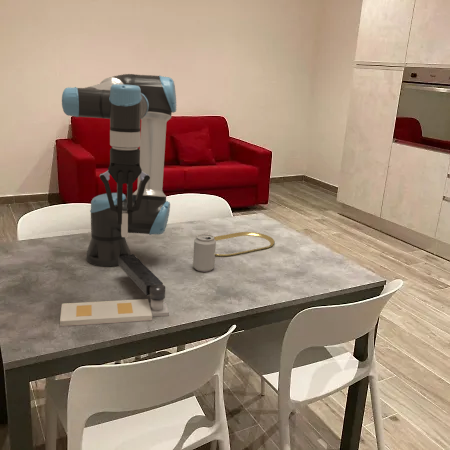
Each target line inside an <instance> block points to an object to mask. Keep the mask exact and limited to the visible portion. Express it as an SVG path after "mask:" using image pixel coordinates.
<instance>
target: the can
mask: <svg viewBox="0 0 450 450" xmlns="http://www.w3.org/2000/svg"><path fill="white" fill-rule="evenodd" d="M214 237H215V236H214V235H212V234H210V233H209V234H208V233H200V234H197V235H196V237H195V239H194V241H193V257H192V258H193V259H192V260H193V261H192V267H193V269H195V270H196V271H198V272H203V273H204V272H205V273H206V272H208V273H209V272H211V271H212V270H214V269H215V261H216V260H215V259H216V256H215V254H216V245H217V241H215V239H214Z"/></svg>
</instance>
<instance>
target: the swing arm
mask: <svg viewBox="0 0 450 450" xmlns="http://www.w3.org/2000/svg"><path fill="white" fill-rule="evenodd" d="M117 266H119V267H120V269H122V270H123V272H124V273H125V274H126V275H127V276H128V277H129V278H130V279H131V280H132V281H133V283H134V284H135V285H136V287H138V288H139V289H140V290H141V292H143V294H144V295H145V296H146V297H147V296H149V299H150V300H151V299H152V300H163V299H165V298H166V286H165V285H164V283H163V282H162V280H160V279H159V278H158V277H157V276H156V274H155V273H153V271H151V270H150V269H149V268H148V267H147V266H146V265H145V264H144V263H143V262H142V261H141V260H140V259H139V258H138V257H137V256H136V255H135V254H133V253H132V254H131V253H130V255H123V256H118V265H117Z"/></svg>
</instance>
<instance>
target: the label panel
mask: <svg viewBox="0 0 450 450" xmlns="http://www.w3.org/2000/svg"><path fill="white" fill-rule="evenodd" d="M164 299H165V298H164ZM164 299H163V300H152V299H150V302H149V298H141V299H123V300H122V299H120V300H107V301H105V300H104V301H87V302H71V303H70V302H68V303H67V302H66V303H61V309H60V318H59V319H60V320H59V327H70V326H84V325H99V324H101V325H102V324H114V323H116V324H117V323H130V322H144V321H146V322H147V321H153V317H165V316H170V311H169V307H168V304H167V302H165V301H164Z"/></svg>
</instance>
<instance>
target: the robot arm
mask: <svg viewBox="0 0 450 450" xmlns="http://www.w3.org/2000/svg"><path fill="white" fill-rule="evenodd" d="M61 107H62V111H63V113H64V114H65V115H66V116H67V117H69V116H70V117H76V118H94V119H108V120H109V145H110V146H111V147H110V149H109V166H108V167H107V170H106V171H105V172H101V173H100V174H99V179H100V181H101V182H102V183H103V186H104V188H105V193H102V194H98V195H96V196H94V197H93V198H91V199H92V200H91V201H90V210H89V212H90V232H91V233H90V240H89V243H88V247H87V250H86V256H85V257H86V261H87V262H88V263H89V264H91V265H94V266H97V267H98V266H99V267H116V266H119V265H118V256H123V255H131V251H130V248H129V245H128V242H127V239H126V238H128V236H129V235H128V234H140V235H141V234H143V235H144V234H145V235H162V234H164V233H165V231H166V228H167V225H168V222H169V217H170V211H171V203H170V201H167V195H166V194H165V193H164V191H163V187H164V183H163V182H164V169H165V154H166V152H165V151H166V138H167V136H166V134H167V122H168V121H169V120H171V119H172V115H173V114H172V113H176V112H177V95H176V87H175V81H174V80H173V78H171V77H170V76H162V75H149V74H148V75H147V74H134V73H124V74H118V75H114V76H110V77H106V78H104V79H103V80H102V81H101V82H99V83H97V84H93V85H91V86H87V87H76V86H75V87H69V86H68V87H66V88H65V87H64V90H63V91H62V95H61ZM110 176H111V177H112V179H113V180H114V181H115V182H116V192H112V190H111V186H110V182H109V180H110ZM136 181H137V189H136V190H135V191H133V189H134V188H133V187H134V186H133V185H134V183H135V182H136ZM124 184H126V194H124V193H123V188H124Z"/></svg>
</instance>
